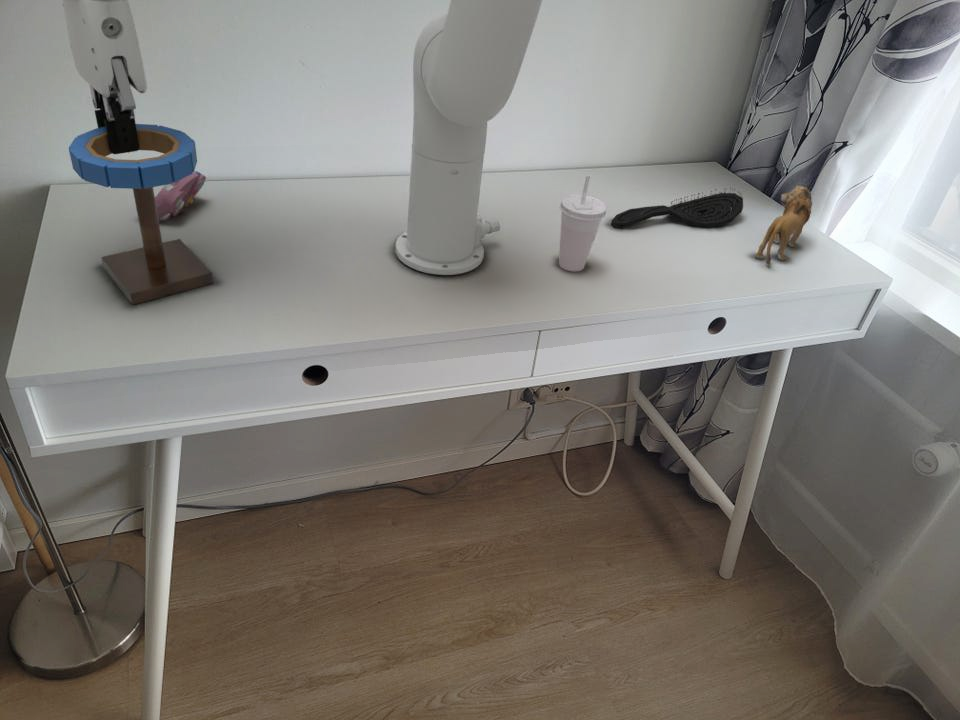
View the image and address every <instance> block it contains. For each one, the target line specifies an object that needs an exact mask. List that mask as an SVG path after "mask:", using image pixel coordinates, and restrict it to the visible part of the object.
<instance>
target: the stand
mask: <svg viewBox="0 0 960 720" xmlns="http://www.w3.org/2000/svg"><path fill="white" fill-rule="evenodd" d="M132 192H133V197H134V203H135V204H134V205H135V208H136V213H137V219H138V220H137V221H138V224H139V228H140V229H139V230H140V235H141V240H142V247H138V248H134V249H130V250H125V251H121V252H117V253H113V254H108V255H104V256H101V262H102V267H103V269H104V270H105V271H106V273H107V274H108V276H109V277H110V278H111V279H112V281H113V282H114V283H115V284H116V286H117V287H118V288H119V290H120V291H121V292H122V294H124V296H125V297H126V299H127V300H128V302H130V304H131V305H132V306H135V305H138V304H142V303H145V302H149V301H153V300H156V299H160V298H164V297H167V296H172V295H175V294H179V293H182V292H187V291H189V290H193V289H196V288H200V287H205V286H207V285H212V284H214V280H213V278H214V277H213V272H212V271H211V270H210V269H209V268H208V266H206V264H205V263H203V262H202V261H201V259H199V257H198V256H197V255H195V253H194V252H193V251H192V250H191V248H189V247H188V246H187V245H186V244H185V243H184V242H183V241H182V239H180V238H176V239H173V240H168V241H164V242H163V238H162V232H161V226H160V221H159V220H160V219H158V214H157V208H156V202H155V197H156V196H155V190H154V187H151V188H146V189H144V188H143V187H142V188H141V189H132Z"/></svg>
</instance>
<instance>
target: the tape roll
mask: <svg viewBox="0 0 960 720" xmlns="http://www.w3.org/2000/svg"><path fill="white" fill-rule="evenodd" d="M136 129H137V135H138V141H139V150H138V151H150V152H152V151H153V152H156V153H161V154H160V155H159V156H155V157H148V158H141V159H122V158H121V159H118V158H112V157H109V156H110V155H111V154H112V153H111V151H110V148H109V143H108V138H107V133H106V128H105V127H100V129H98V127H97V128H94V129H91V130H88V131H86V132H84V133H81V134H79V135H77V136H75V137H74V139H73V140H72V142H71V143H70V145H69V146H68V152H69V157H70V161H71V165H72V170H73V171H74V172H75V173H76V175H78V177H79V178H80V179H81V180H84V181H85V182H87V183H91V184H95V185H98V186H102V187H104V188H110V189H128V190H129V189H131V190H133V189H141V188H142V187H143V188H144V189H146V188H151V187H153V188H155V187H156V188H157V187H161V186H165V185H167V184H172V182H174V183H176V182H177V181H179V180H181V179H183V178H185V177H187V176H189V175H191V174H193V172H194V171H196V170H195V169H196V167H197V163H198V156H197V148H196V147H197V146H196V142H195V140H194V139H193V138H191V137H190V136H189V135H188V134H187V133H186V132H184V131H182V130H180V129H179V130H178V129H175V128H172V127H167V126H164V125H160V124H159V125H158V124H149V123H148V124H147V123H136ZM112 155H113V154H112Z"/></svg>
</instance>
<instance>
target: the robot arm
mask: <svg viewBox="0 0 960 720" xmlns="http://www.w3.org/2000/svg"><path fill="white" fill-rule="evenodd" d="M542 1H543V0H450V3H449V7H448V11H447V13H446V14H442V15H440V16H438V17H435V18H433V19H432V20H431V21H429V22H428V23H427V24H426V26H425V27H424V28H423V29H422V30H421V32H420V34H419V35H418V38H417V40H416V43H415V47H414V52H413V59H412V62H413V63H412V84H413V85H412V86H413V117H412V118H413V122H412V142H411V153H410V154H411V157H410V175H409V191H408V192H409V193H408V211H407V227H406V228H407V229H406V231H405V232H402V234H400V235H399V236H398V238H396V240H395V254H396V257H397V258H398V259H399V260H400V261H401V262H402V264H404V265H406V266H407V267H409V268H411V269H413V270H415V271H417V272H422V273H425V274H430V275H436V276H454V275H460V274H465V273H468V272H471V271H472V270H475V269H476V268H478V267H479V266H480V265H481V264H482V262H483V260H484V254H485V250H484V246H483V244H482V243H481V239H484V237H485V235H489V234H490V235H491V234H494V233H496V232H499V231H500V230H501V223H500V221H499V220H498V219H497V218H491V219H488V220H485V221H483V218H482V217H481V216H480V215H478V212H479V204H480V203H479V202H480V194H481V186H482V179H483V167H484V159H485V153H486V144H487V136H488V135H487V134H488V122H490V121H491V120H493V119H494V118H495V117H497V115H498V114H499V113H500V112H501V111H502V110H503V109H504V107H505V106H506V104H507V102H508V101H509V98H510V97H511V95H512V92H513V90H514V88H515V85H516V82H517V79H518V77H519V74H520V71H521V67H522V64H523V61H524V59H525V56H526V53H527V49H528V47H529V44H530V41H531V37H532V35H533V32H534V28H535V25H536V22H537V20H538V16H539V13H540V9H541V6H542ZM62 6H63V11H64V19H65V24H66V28H67V30H66V31H67V36H68V40H69V45H70V50H71V55H72V58H73V62H74V66H75V69H76V71H77V73H78V74H79V76H80V77H81V78H82V79H83V80H84V81H85V82H86V83H87V84H89V89H90V94H91V100H92V104H93V108H94V109H95V110H94V116H95V120H96V125H97V128H98V129H100V127H105V128H106V133H107V138H108V143H109V148H110V151H111V153H112V155H121V154H127V153H128V154H129V153H133V152H138V151H140V150H139V141H138V135H137V129H136V124H137V123H136V115H135V109H137V105H136V102H135V98H134V94H133V91H132V88H133V89H134V90H136V91H137V92H138V93H140V94H145V93H146V92H147V90H148V83H147V77H146V73H145V67H144V62H143V57H142V51H141V47H140V42H139V37H138V33H137V29H136V25H135V20H134V17H133V13H132V10H131V7H130V4H129V0H62ZM131 87H132V88H131Z"/></svg>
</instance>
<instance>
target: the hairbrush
mask: <svg viewBox="0 0 960 720" xmlns="http://www.w3.org/2000/svg"><path fill="white" fill-rule="evenodd" d="M730 190H732V187H730ZM714 191H717V188H716V189H714ZM726 191H727V188H724V191H723V192H722V191H720V192H719V193H714V194H713V193H712V192H713V191H712V190H711V191H710V194H709V195H706V194H705V195H704V192H702V193H701V194H702V195H704V196H701V197H700V192H698V193H697V194H698V196H697V197H696V194H695V193H694V194H691V197H693V196H694V199H690V200H687V199H686V198H689V196H688V195H687V196H684V197H683V201H682V197H680V198H678V200H677V198H676V199H674V200H672V201H671V202H670V206H667V205H663V204H662V205H651V206H643V207H637V208H635V207H634V208H629V209H627V210H624V211H622V212H620V213H617V214H616V215H615V216H614V217H613V218H612V219H611V223H610V226H612V227H613V228H614V229H615V228H628V227H631V226H635V225H637V224H640V223H642V222H645V221H647V220H649V219H651V218H656V217H661V216H668V215H669V216H670V217H672V218H674V219H676V220H677V221H680V222H682V223H684V224H688V225H690V226H693V227H698V228H705V229H709V228H717V227H723V226H724V225H727V224H729V223H731V222H733V221H734V220H735V219H736V218H738V216H739V215H740V214H741V213H742V211H743V210H744V197H743V195H742V193H741V192H740V191H737V193H738V194H737V193H736V192H735V191H736V189H733V192H732V191H729V192H726ZM676 201H679V202H678V203H676ZM673 203H674V204H673ZM675 203H676V204H675Z"/></svg>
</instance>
